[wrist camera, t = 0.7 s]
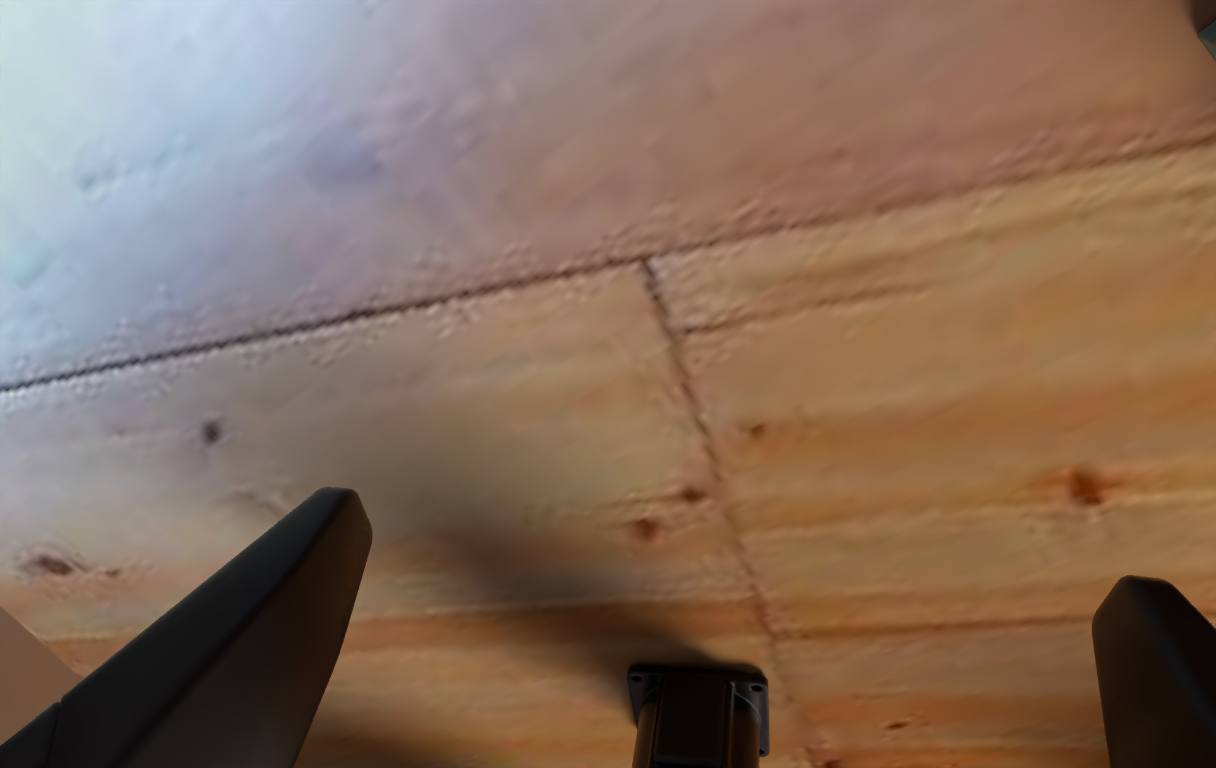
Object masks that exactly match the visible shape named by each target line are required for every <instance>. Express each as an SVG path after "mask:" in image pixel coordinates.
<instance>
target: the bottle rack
mask: <svg viewBox="0 0 1216 768" xmlns="http://www.w3.org/2000/svg"><path fill="white" fill-rule="evenodd" d="M1198 37H1199V38H1200V40H1201V41H1202V43H1203V44H1204V45H1205V47H1206V48H1207V49H1208V51H1209V52H1210V53H1211V55H1212V56H1213V58H1214V59H1215V60H1216V20H1215V21H1214V22H1213V23H1211V24H1210V25H1208V26H1207V27H1206V28H1204V29H1203V30H1202V31H1200V32H1199V33H1198Z"/></svg>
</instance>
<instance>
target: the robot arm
mask: <svg viewBox="0 0 1216 768" xmlns="http://www.w3.org/2000/svg"><path fill="white" fill-rule="evenodd" d="M371 544H372V527H371V524H370V522H369V519H368V517H367V515H366V512H365V510H364V508H363V505H362V503H361V500H360V498H359V496H358V494H357V493H356V492H355V491H354V490H352V489H346V488H337V487H324V488H321V489H319V490H318V491H316V492H315V493H314V494H312V495H311V496H310V497H309V498H308V499H306V500H305V501H304V502H303V503H301V504H300V505H299V506H298V507H296V508H295V509H294V510H293V511H291V512H290V513H289V514H288V515H286V516H285V517H284V518H283V519H282V520H280V521H279V522H278V523H277V524H275V525H274V526H273V527H272V528H270V529H269V530H268V531H267V532H265V533H264V534H263V535H262V536H260V537H259V538H258V539H257V540H256V541H254V542H253V543H252V544H251V545H249V546H248V547H247V548H246V549H244V550H243V551H242V552H241V553H239V554H238V555H237V556H236V557H234V558H233V559H232V560H231V561H230V562H228V563H227V564H226V565H225V566H223V567H222V568H221V569H220V570H218V571H217V572H216V573H215V574H213V575H212V576H211V577H210V578H208V579H207V580H206V581H205V582H204V583H202V584H201V585H200V586H199V587H197V588H196V589H195V590H194V591H192V592H191V593H190V594H189V595H187V596H186V597H185V598H184V599H182V600H181V601H180V602H179V603H178V604H176V605H175V606H174V607H173V608H171V609H170V610H169V611H168V612H166V613H165V614H164V615H163V616H161V617H160V618H159V619H158V620H156V621H155V622H154V623H153V624H152V625H150V626H149V627H148V628H147V629H145V630H144V631H143V632H142V633H140V634H139V635H138V636H137V637H135V638H134V639H133V640H132V641H131V642H129V643H128V644H127V645H126V646H124V647H123V648H122V649H121V650H119V651H118V652H117V653H116V654H114V655H113V656H112V657H111V658H109V659H108V660H107V661H106V662H105V663H103V664H102V665H101V666H100V667H98V668H97V669H96V670H95V671H93V672H92V673H91V674H90V675H88V676H87V677H86V678H85V679H83V680H82V681H81V682H80V683H79V684H77V685H76V686H75V687H74V688H72V689H71V690H70V691H69V692H67V693H66V694H65V695H64V696H63V697H62V699H61V702H55V703H53V704H52V705H51V706H50V707H49V708H47V709H46V710H45V711H44V712H42V713H41V714H40V715H39V716H37V717H36V718H35V719H34V720H32V721H31V722H30V723H29V724H27V725H26V726H25V727H24V728H22V729H21V730H20V731H19V732H17V733H16V734H15V735H13V736H12V737H11V738H10V739H8V740H7V741H6V742H5V743H3V744H2V745H1V746H0V768H293V767H294V765H295V762H296V760H297V757H298V755H299V753H300V750H301V748H302V745H303V743H304V740H305V738H306V735H307V733H308V731H309V728H310V726H311V723H312V721H313V718H314V716H315V714H316V711H317V709H318V706H319V704H320V701H321V699H322V696H323V694H324V692H325V689H326V687H327V684H328V682H329V679H330V677H331V674H332V672H333V669H334V667H335V664H336V662H337V659H338V656H339V654H340V650H341V647H342V644H343V641H344V638H345V635H346V631H347V628H348V624H349V621H350V617H351V614H352V610H353V607H354V603H355V600H356V596H357V593H358V589H359V586H360V583H361V579H362V576H363V572H364V569H365V565H366V562H367V558H368V555H369V551H370V548H371ZM1092 638H1093V645H1094V653H1095V660H1096V668H1097V675H1098V683H1099V690H1100V697H1101V705H1102V712H1103V720H1104V727H1105V735H1106V742H1107V749H1108V755H1109V761H1110V767H1111V768H1216V629H1215V627H1214V626H1213V625H1212V624H1211V623H1210V622H1209V621H1208V620H1207V619H1206V618H1205V617H1204V616H1203V615H1202V614H1201V613H1200V612H1199V611H1198V610H1197V609H1196V608H1195V607H1194V606H1193V605H1192V604H1191V603H1190V602H1189V601H1188V600H1187V599H1186V598H1185V597H1184V595H1183V594H1182V593H1181V592H1180V591H1179V590H1178V589H1177V588H1176V587H1175V586H1173V585H1172V584H1171V583H1169V582H1167V581H1165V580H1163V579H1159V578H1150V577H1141V576H1132V575H1127V576H1125V577H1122V578H1120V579H1119V581H1118V582H1117V583H1116V584H1115V586H1114V587H1113V589H1112V590H1111V591H1110V593H1109V594H1108V596H1107V597H1106V598H1105V600H1104V601H1103V602H1102V604H1101V605H1100V607H1099V608H1098V609H1097V611H1096V613H1095V615H1094V618H1093V622H1092ZM627 681H628V686H629V691H630V696H631V701H632V706H633V710H634V715H635V720H636V725H637V737H636V743H635V750H634V757H633V763H632V768H759V757H765V756H767V755H769V706H768V680H767V679H766V678H765V677H764V676H762V675H758V674H746V673H733V672H721V671H708V670H695V669H682V668H670V667H657V666H644V665H632V666H630V667H629V668H628V673H627Z"/></svg>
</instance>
